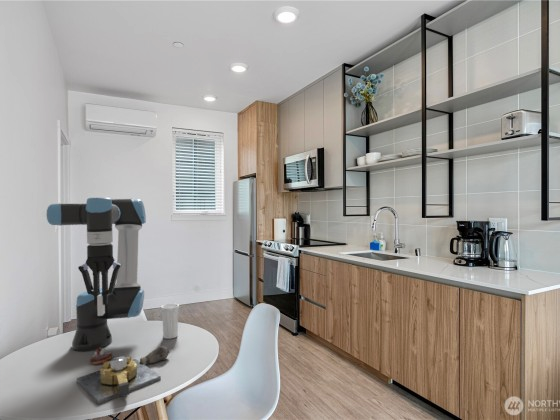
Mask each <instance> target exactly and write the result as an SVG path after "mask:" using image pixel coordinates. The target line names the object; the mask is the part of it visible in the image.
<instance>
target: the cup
mask: <svg viewBox="0 0 560 420" xmlns="http://www.w3.org/2000/svg"><path fill="white" fill-rule="evenodd" d="M179 309H180V304H178V303H174V302H173V303H165V304H163V305H161V307H160V310H161V316H162V333H163V334H162V337H163V338H164V339H169V340H170V339H175V338H176V337H178V330H179V329H178V328H179Z"/></svg>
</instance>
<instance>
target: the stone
mask: <svg viewBox="0 0 560 420" xmlns="http://www.w3.org/2000/svg"><path fill="white" fill-rule="evenodd" d="M169 354H170V350H169V349H168V347H166V346H164V345H163V346H162V345H159V346H158V347H156V348H155V349H154V350H152V351H150V352H149V353H148V354H146V355H145V356H143V357H141V358H140V359H139V362H141V363H142V364H144V365H145V366H147V364H155V363H157V362H159V361H165V360H166V359H167V357H168V355H169Z"/></svg>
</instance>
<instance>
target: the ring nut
mask: <svg viewBox="0 0 560 420" xmlns="http://www.w3.org/2000/svg"><path fill="white" fill-rule="evenodd" d="M125 357H126V356H125ZM126 358H127V365H126V370H123V371H119V372H113V369H112V368H111V361H106V362H104V364H103V366H102V367H100V369H99V371H100V379H101V383H103V384H110V385H113V384H114V385H115V384H117V388H118V392H119V396H118V397H119V398H121V397H125V396H129V395H130V394H129V393H130V392H129V383H128V381H129V380H130V379H132V378H133V377H134V376H136V375H137V364H136V362H135V361H133V359H132V356H127V357H126ZM127 380H128V381H127Z"/></svg>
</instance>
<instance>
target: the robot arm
mask: <svg viewBox="0 0 560 420" xmlns="http://www.w3.org/2000/svg"><path fill="white" fill-rule="evenodd" d="M46 220H47V223H48V224H50V225H51V226H85V225H86V244H88V245H87V246H86V254H87V255H86V256H87V257H86V260H85V263H84V264H81V265H78V267H77V269H78V270H79V272H80V273H81V275H82V278H83V282H84V285H85V289H86V291H83V292H81V293H80V294H79V295H77V297H76V305H75V309H76V312H75V313H76V330H75V334H74V336H73V339H72V341H71V349H72V350H74V351H77V352H89V351H96V350H97V349H98V348H99V347H101V348H102V349H103V348H104V347H106V346H108V345H110V344H111V343H112V341H113V337H112V336H113V335H112V333H111V330H110V328H109V324H108V320H116V319H129V318H136V317H139V316H140V314H141V312H142V310H143V306H144V302H145V301H144V300H145V291H144V289H141V284H139V283H138V267H139V266H138V262H139V261H138V259H139V257H138V256H139V231H140V230H141V229H142V228H143V225H144V224H146V222H147V216H146V209H145V205H144V202H143V201H142V199H137V198H118V199H117V198H113V199H112V198H110V197H88V198H86V203H60V202H59V203H51V204H50V205H48V207H47V209H46ZM113 225H114V228H115V229H116V230H117V231H118V235H117V236H118V237H117V257H116V258H117V259H116V260H117V261H115V258H114V255H113V254H114V245H113V244H112V243H113V238H114V237H113ZM111 267H112V269H113V270H112V274H111V277H110V281H109V270H110V268H111ZM88 269H90V271H92V277H93V278H92V279H93V281H92V279H91V275H90V271H89V270H88ZM100 274H101V279H100ZM100 280H101V282H100ZM100 283H101V285H100Z"/></svg>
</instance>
